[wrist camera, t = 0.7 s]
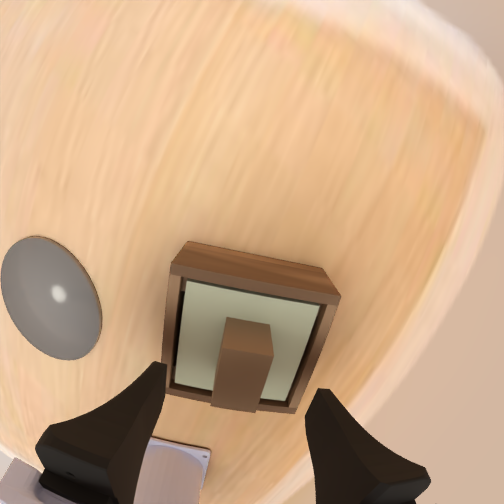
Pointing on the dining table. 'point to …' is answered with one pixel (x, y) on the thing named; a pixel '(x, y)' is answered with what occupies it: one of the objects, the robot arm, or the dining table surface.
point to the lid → (241, 343)
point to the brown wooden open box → (254, 279)
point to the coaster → (51, 298)
